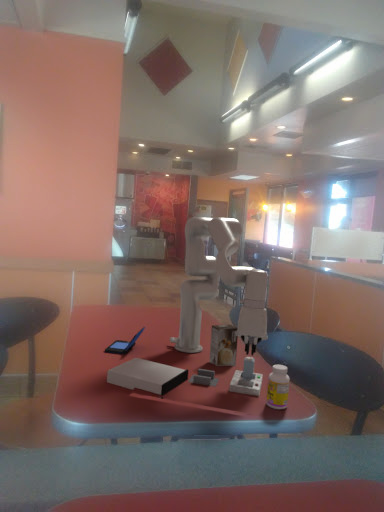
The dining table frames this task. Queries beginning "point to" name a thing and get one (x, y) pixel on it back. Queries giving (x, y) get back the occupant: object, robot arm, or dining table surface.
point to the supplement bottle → (278, 387)
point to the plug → (248, 367)
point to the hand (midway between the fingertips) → (250, 353)
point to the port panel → (246, 383)
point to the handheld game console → (123, 344)
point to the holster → (204, 378)
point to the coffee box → (223, 345)
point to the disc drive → (147, 376)
